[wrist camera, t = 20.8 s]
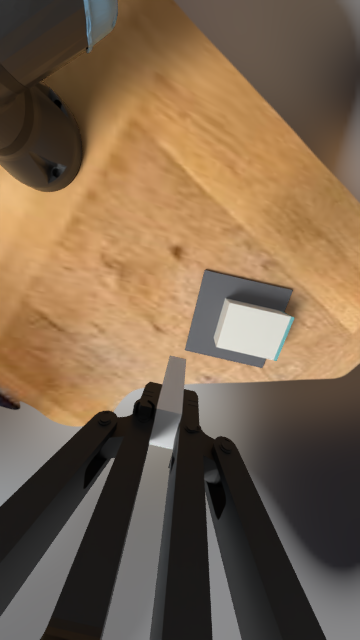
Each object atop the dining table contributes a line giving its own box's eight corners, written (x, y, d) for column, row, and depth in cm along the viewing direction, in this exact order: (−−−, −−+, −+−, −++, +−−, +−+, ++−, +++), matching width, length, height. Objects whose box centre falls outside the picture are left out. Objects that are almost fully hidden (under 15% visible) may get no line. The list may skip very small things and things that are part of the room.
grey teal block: (229, 302, 34) (294, 317, 34) (225, 298, 39) (281, 311, 39) (216, 347, 36) (276, 360, 36) (213, 337, 41) (266, 349, 41)
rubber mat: (204, 270, 38) (204, 270, 37) (291, 289, 38) (292, 290, 37) (185, 349, 43) (185, 350, 43) (261, 366, 43) (262, 368, 42)
